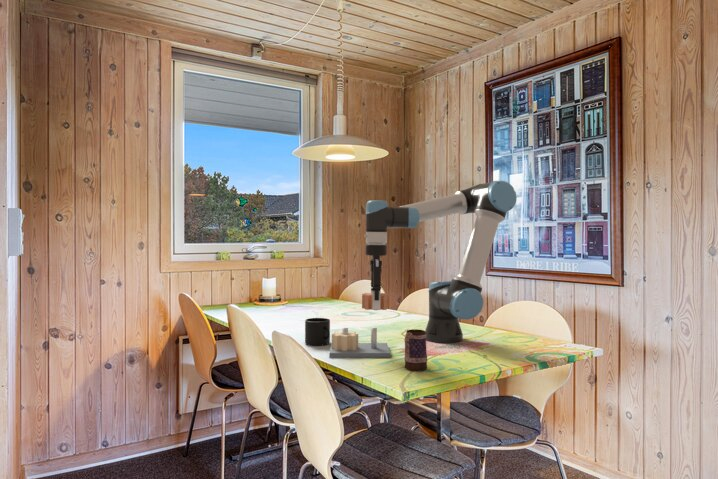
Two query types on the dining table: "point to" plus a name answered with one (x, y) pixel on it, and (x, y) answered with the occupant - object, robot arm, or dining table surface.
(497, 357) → the dining table surface
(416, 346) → the mug
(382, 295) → the gear
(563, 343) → the dining table surface
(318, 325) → the mug
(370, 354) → the gear board
